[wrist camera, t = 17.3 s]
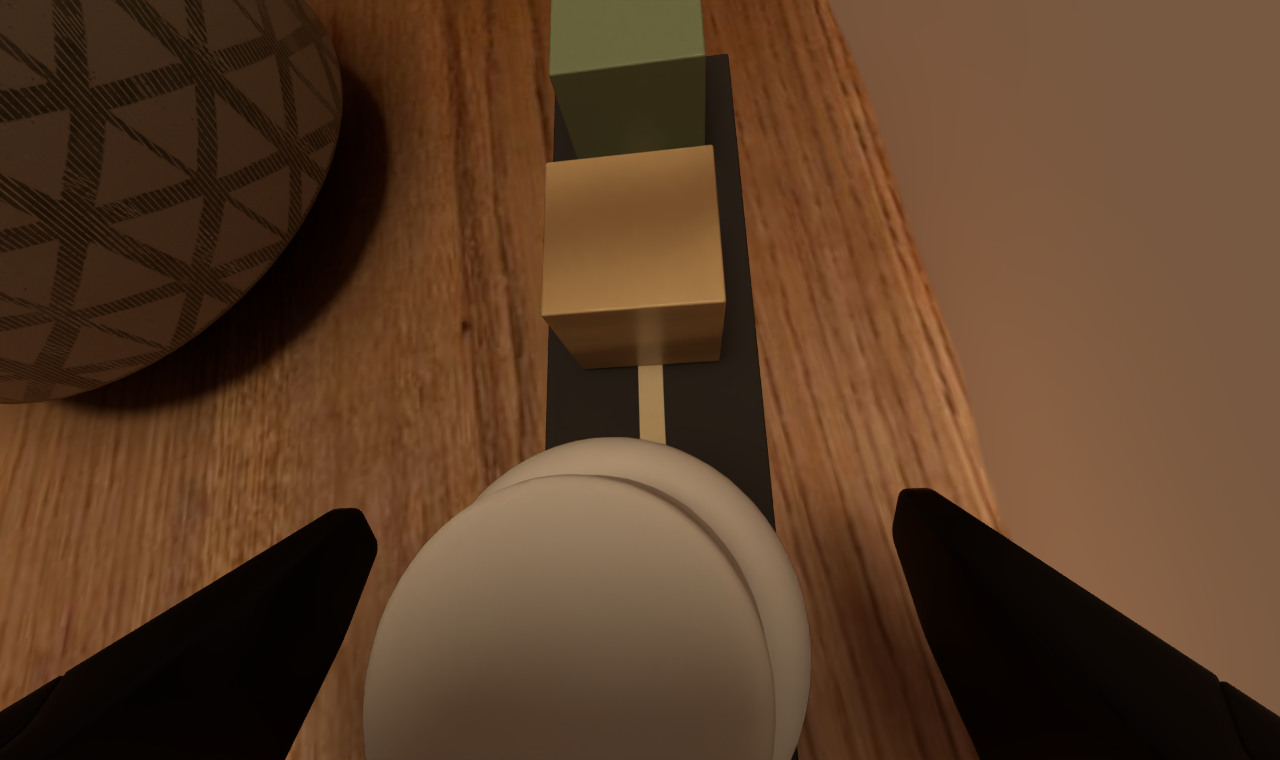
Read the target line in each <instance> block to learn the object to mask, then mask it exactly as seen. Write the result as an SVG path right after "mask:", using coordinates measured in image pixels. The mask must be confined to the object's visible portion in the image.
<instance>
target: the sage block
mask: <svg viewBox="0 0 1280 760" xmlns="http://www.w3.org/2000/svg"><path fill="white" fill-rule="evenodd" d="M705 73H706V53H705V41H704V29H703V17H702V4H701V0H551V26H550V57H549V77H550V79H551V82H552V85H553V88H554V91H555V94H556V97H557V100H558V103H559V106H560V109H561V112H562V115H563V118H564V120H565V123H566V126H567V129H568V132H569V135H570V138H571V141H572V144H573V147H574V150H575V153H576V156H577V158H578V159H586V158H595V157H604V156H613V155H622V154H631V153H641V152H650V151H659V150H668V149H677V148H686V147H695V146H704V145H705Z"/></svg>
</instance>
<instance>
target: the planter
mask: <svg viewBox="0 0 1280 760" xmlns="http://www.w3.org/2000/svg"><path fill="white" fill-rule="evenodd" d="M342 108H343V88H342V75H341V71H340V66H339V61H338V57H337V54H336V52H335V49H334V46H333V43H332V41H331V39H330V37H329V35H328V33H327V31H326V29H325V27H324V26H323V24H322V22H321V21H320V20H319V18H318V17H317V16H316V14H315V13H314V12H313V10H312V9H311V8H310V6H309V5H308V4H307V2H306V1H305V0H0V404H22V403H34V402H44V401H49V400H54V399H60V398H65V397H70V396H73V395H77V394H80V393H83V392H87V391H90V390H94V389H97V388H99V387H102V386H104V385H107V384H110V383H112V382H115V381H117V380H120V379H122V378H125V377H127V376H129V375H131V374H133V373H135V372H137V371H139V370H141V369H143V368H145V367H147V366H149V365H151V364H153V363H155V362H156V361H158V360H160V359H161V358H163V357H165V356H167V355H168V354H170V353H172V352H173V351H175V350H177V349H178V348H180V347H181V346H182V345H184V344H185V343H187V342H188V341H190V340H191V339H193V338H194V337H196V336H197V335H199V334H200V333H201V332H203V331H204V330H205V329H206V328H208V327H209V326H210V325H211V324H213V323H214V322H215V321H216V320H217V319H219V318H220V317H221V316H222V315H224V314H225V313H226V312H227V311H228V310H229V309H230V308H231V307H232V306H234V305H235V304H236V303H237V302H238V301H239V300H240V299H241V298H242V297H243V296H244V295H246V294H247V292H248V291H249V290H250V289H251V288H252V287H253V286H254V285H255V284H256V283H257V282H258V281H259V280H260V279H261V278H262V276H263V275H264V274H265V273H266V272H267V271H268V270H269V268H270V267H271V266H272V265H273V264H274V262H275V261H276V260H277V259H278V257H279V256H280V255H281V254H282V252H283V251H284V250H285V249H286V247H287V246H288V244H289V243H290V241H291V240H292V238H293V237H294V235H295V234H296V232H297V231H298V230H299V228H300V227H301V225H302V223H303V222H304V220H305V218H306V216H307V215H308V213H309V211H310V209H311V208H312V206H313V204H314V202H315V200H316V198H317V196H318V194H319V192H320V190H321V188H322V185H323V183H324V181H325V179H326V176H327V173H328V170H329V168H330V165H331V162H332V160H333V157H334V153H335V149H336V145H337V141H338V137H339V132H340V126H341V119H342Z"/></svg>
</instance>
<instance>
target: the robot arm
mask: <svg viewBox="0 0 1280 760" xmlns="http://www.w3.org/2000/svg"><path fill="white" fill-rule="evenodd" d="M892 534H893V540H894V544H895V547H896V550H897V553H898V556H899V559H900V562H901V565H902V569H903V572H904V575H905V578H906V581H907V584H908V587H909V590H910V593H911V596H912V599H913V602H914V605H915V608H916V611H917V614H918V617H919V621H920V623H921V626H922V629H923V632H924V635H925V638H926V640H927V642H928V645H929V647H930V650H931V652H932V654H933V657H934V659H935V661H936V663H937V666H938V668H939V670H940V672H941V674H942V677H943V679H944V681H945V683H946V686H947V688H948V690H949V692H950V694H951V697H952V699H953V701H954V703H955V706H956V708H957V710H958V712H959V714H960V717H961V719H962V721H963V723H964V726H965V728H966V730H967V732H968V734H969V737H970V739H971V741H972V743H973V746H974V748H975V750H976V752H977V755H978V757H979V759H980V760H1280V717H1279V716H1278V715H1276V714H1275V713H1273V712H1272V711H1270V710H1269V709H1267V708H1265V707H1264V706H1262V705H1261V704H1259V703H1258V702H1256V701H1255V700H1253V699H1252V698H1250V697H1249V696H1247V695H1246V694H1244V693H1242V692H1241V691H1240V690H1238V689H1236V688H1235V687H1233V686H1232V685H1230V684H1229V683H1227V682H1219V680H1218V678H1217V676H1216V675H1214V674H1213V673H1212V672H1210V671H1209V670H1207V669H1206V668H1204V667H1203V666H1201V665H1199V664H1198V663H1196V662H1195V661H1193V660H1192V659H1190V658H1189V657H1187V656H1186V655H1184V654H1183V653H1181V652H1180V651H1178V650H1177V649H1175V648H1174V647H1172V646H1171V645H1169V644H1167V643H1166V642H1164V641H1163V640H1161V639H1160V638H1158V637H1157V636H1155V635H1154V634H1152V633H1150V632H1149V631H1148V630H1146V629H1145V628H1143V627H1142V626H1140V625H1138V624H1137V623H1135V622H1134V621H1132V620H1131V619H1129V618H1128V617H1126V616H1125V615H1123V614H1122V613H1120V612H1119V611H1117V610H1116V609H1114V608H1112V607H1111V606H1109V605H1108V604H1106V603H1105V602H1103V601H1102V600H1100V599H1099V598H1097V597H1095V596H1094V595H1093V594H1091V593H1090V592H1088V591H1087V590H1085V589H1084V588H1082V587H1080V586H1079V585H1077V584H1076V583H1074V582H1073V581H1071V580H1069V579H1068V578H1067V577H1065V576H1063V575H1062V574H1061V573H1059V572H1058V571H1056V570H1055V569H1053V568H1052V567H1050V566H1048V565H1047V564H1045V563H1044V562H1042V561H1041V560H1039V559H1038V558H1036V557H1035V556H1033V555H1032V554H1030V553H1028V552H1027V551H1026V550H1024V549H1023V548H1021V547H1020V546H1018V545H1016V544H1015V543H1013V542H1012V541H1010V540H1009V539H1007V538H1006V537H1004V536H1003V535H1001V534H1000V533H998V532H997V531H995V530H994V529H992V528H991V527H989V526H988V525H986V524H984V523H983V522H981V521H980V520H978V519H977V518H975V517H974V516H972V515H971V514H969V513H968V512H966V511H965V510H963V509H962V508H960V507H959V506H957V505H955V504H954V503H952V502H951V501H949V500H948V499H946V498H945V497H943V496H942V495H940V494H939V493H937V492H936V491H934V490H932V489H929V488H909V489H903V490H902V491H901V492H900V493H899V496H898V500H897V505H896V511H895V516H894V521H893V527H892ZM376 554H377V540H376V538H375V536H374V534H373V532H372V530H371V528H370V526H369V524H368V522H367V520H366V518H365V516H364V514H363V513H362V512H361V511H360V510H359V509H356V508H339V509H334V510H331V511H329V512H328V513H326V514H324V515H323V516H321V517H319V518H318V519H316V520H315V521H313V522H311V523H310V524H308V525H306V526H305V527H303V528H301V529H300V530H298V531H296V532H295V533H293V534H292V535H290V536H288V537H287V538H285V539H283V540H282V541H280V542H278V543H277V544H275V545H274V546H272V547H270V548H269V549H267V550H265V551H264V552H262V553H260V554H259V555H257V556H255V557H254V558H252V559H251V560H249V561H247V562H246V563H244V564H242V565H241V566H239V567H237V568H236V569H234V570H233V571H231V572H229V573H228V574H226V575H224V576H223V577H221V578H219V579H218V580H216V581H214V582H213V583H211V584H210V585H208V586H206V587H205V588H203V589H201V590H200V591H198V592H196V593H195V594H193V595H192V596H190V597H188V598H187V599H185V600H183V601H182V602H180V603H178V604H177V605H175V606H173V607H172V608H170V609H169V610H167V611H165V612H164V613H162V614H160V615H159V616H157V617H155V618H154V619H152V620H151V621H149V622H147V623H146V624H144V625H142V626H141V627H139V628H137V629H136V630H134V631H132V632H131V633H129V634H128V635H126V636H124V637H123V638H121V639H119V640H118V641H116V642H114V643H113V644H111V645H110V646H108V647H106V648H105V649H103V650H101V651H100V652H98V653H96V654H95V655H93V656H91V657H90V658H88V659H87V660H85V661H83V662H82V663H80V664H78V665H77V666H75V667H73V668H72V669H70V670H69V671H67V672H66V673H65V675H64V676H59V677H57V678H55V679H53V680H52V681H50V682H49V683H47V684H45V685H44V686H42V687H40V688H39V689H37V690H35V691H34V692H32V693H31V694H29V695H27V696H26V697H24V698H22V699H21V700H19V701H17V702H16V703H14V704H12V705H11V706H9V707H7V708H6V709H4V710H2V711H1V712H0V760H285V759H286V757H287V755H288V753H289V751H290V749H291V747H292V744H293V742H294V740H295V738H296V736H297V734H298V732H299V730H300V728H301V726H302V724H303V722H304V720H305V718H306V716H307V714H308V712H309V710H310V708H311V706H312V704H313V702H314V700H315V698H316V696H317V694H318V692H319V690H320V688H321V685H322V683H323V681H324V679H325V677H326V675H327V673H328V671H329V669H330V667H331V665H332V663H333V661H334V659H335V657H336V655H337V653H338V651H339V648H340V646H341V644H342V642H343V640H344V637H345V635H346V632H347V630H348V628H349V625H350V623H351V620H352V617H353V615H354V612H355V610H356V607H357V604H358V602H359V599H360V597H361V594H362V591H363V589H364V586H365V584H366V581H367V578H368V576H369V573H370V570H371V568H372V565H373V563H374V560H375V557H376Z"/></svg>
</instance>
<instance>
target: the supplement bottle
mask: <svg viewBox="0 0 1280 760" xmlns="http://www.w3.org/2000/svg"><path fill="white" fill-rule="evenodd" d="M810 679H811V643H810V633H809V625H808V619H807V614H806V608H805V603H804V599H803V596H802V592H801V589H800V586H799V582H798V579H797V576H796V574H795V571H794V568H793V566H792V563H791V561H790V559H789V557H788V555H787V553H786V551H785V549H784V547H783V545H782V543H781V542H780V540H779V538H778V536H777V534H776V533H775V531H774V530H773V528H772V527H771V525H770V524H769V522H768V521H767V519H766V518H765V516H764V515H763V514H762V513H761V511H760V510H759V509H758V508H757V506H756V505H755V504H754V503H753V502H752V501H751V500H750V499H749V498H748V497H747V496H746V495H745V494H744V493H743V492H742V491H741V490H740V489H739V488H738V487H737V486H736V485H735V484H734V483H733V482H731V481H730V480H729V479H728V478H727V477H725V476H724V475H723V474H721V473H720V472H719V471H717V470H716V469H714V468H713V467H711V466H710V465H708V464H706V463H704V462H703V461H701V460H699V459H697V458H695V457H694V456H692V455H689V454H687V453H685V452H683V451H681V450H678V449H676V448H673V447H670V446H667V445H664V444H660V443H656V442H652V441H648V440H643V439H635V438H627V437H603V438H590V439H584V440H578V441H574V442H570V443H566V444H563V445H559V446H556V447H553V448H551V449H548V450H546V451H543V452H541V453H539V454H536V455H534V456H532V457H530V458H529V459H527V460H525V461H523V462H521V463H520V464H518V465H517V466H515V467H513V468H512V469H510V470H509V471H507V472H506V473H505V474H503V475H502V476H501V477H499V478H498V479H497V480H496V481H494V482H493V483H492V484H491V485H489V486H488V487H487V488H486V489H485V490H484V491H483V492H482V493H481V494H480V495H479V497H478V498H477V499H476V500H475V501H474V502H473V503H472V504H471V505H470V506H468V507H467V508H465V509H464V510H462V511H461V512H459V513H458V514H457V515H455V516H454V517H453V518H452V519H451V520H450V521H449V522H447V523H446V524H445V525H444V526H443V527H442V528H441V529H439V530H438V531H437V532H436V533H435V534H434V535H433V536H432V538H431V539H430V540H429V541H428V542H427V543H426V544H425V545H424V546H423V547H422V549H421V550H420V551H419V553H418V554H417V555H416V556H415V558H414V559H413V560H412V562H411V563H410V565H409V566H408V568H407V569H406V571H405V572H404V574H403V575H402V577H401V578H400V580H399V582H398V584H397V586H396V588H395V590H394V592H393V593H392V595H391V597H390V599H389V601H388V603H387V606H386V608H385V611H384V613H383V615H382V618H381V620H380V623H379V625H378V629H377V633H376V636H375V640H374V643H373V647H372V651H371V655H370V660H369V664H368V669H367V674H366V682H365V691H364V702H363V733H364V747H365V758H366V760H791V758H792V756H793V754H794V751H795V748H796V746H797V743H798V740H799V737H800V734H801V731H802V727H803V723H804V718H805V714H806V710H807V704H808V697H809V690H810Z"/></svg>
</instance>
